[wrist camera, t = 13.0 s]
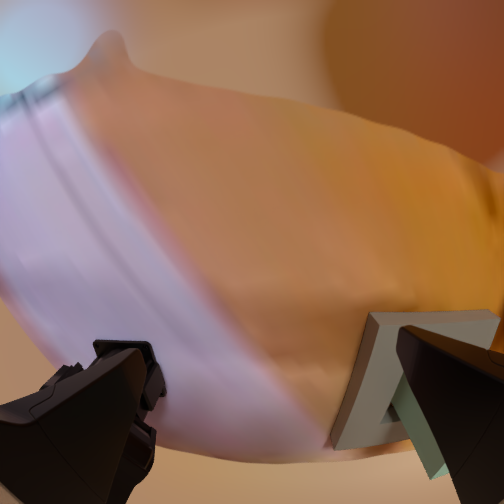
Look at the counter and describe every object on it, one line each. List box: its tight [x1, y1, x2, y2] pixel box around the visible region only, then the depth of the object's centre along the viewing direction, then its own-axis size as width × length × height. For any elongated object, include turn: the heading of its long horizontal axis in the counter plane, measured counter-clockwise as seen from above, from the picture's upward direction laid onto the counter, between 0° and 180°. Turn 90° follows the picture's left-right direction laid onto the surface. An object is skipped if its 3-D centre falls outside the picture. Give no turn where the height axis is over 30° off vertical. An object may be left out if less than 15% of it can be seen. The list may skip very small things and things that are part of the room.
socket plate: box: [330, 309, 501, 451], centre depth 23 cm, size 16×16×2 cm
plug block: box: [391, 371, 449, 480], centre depth 18 cm, size 5×5×12 cm
